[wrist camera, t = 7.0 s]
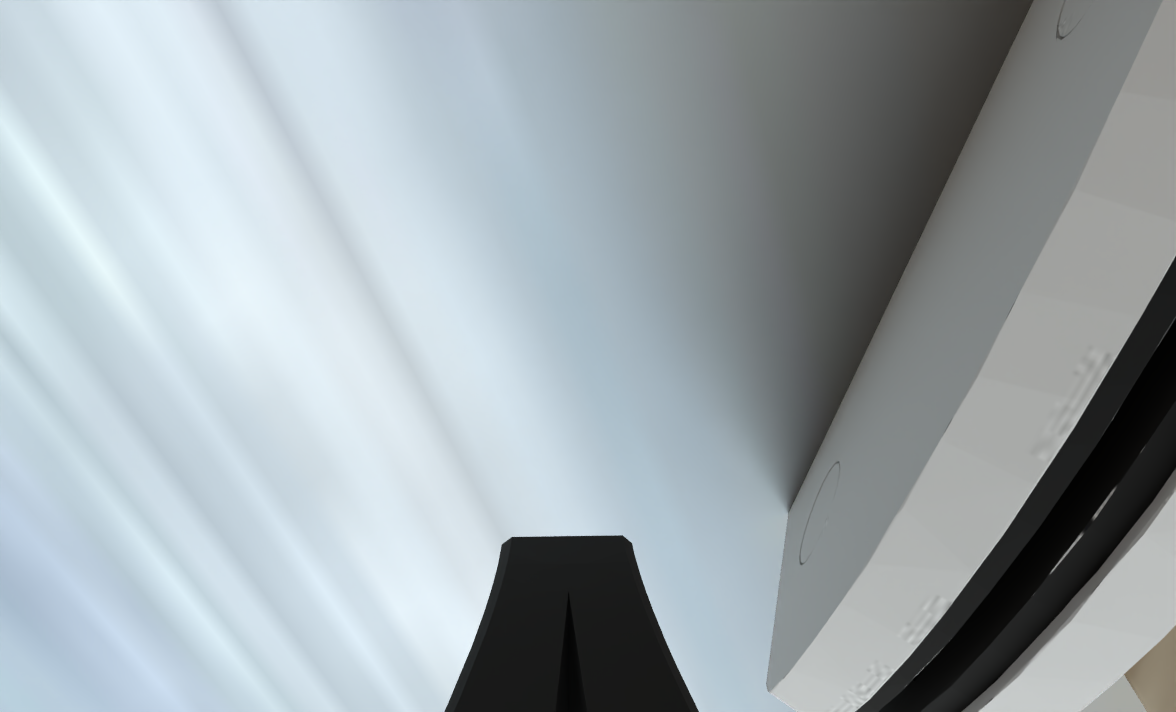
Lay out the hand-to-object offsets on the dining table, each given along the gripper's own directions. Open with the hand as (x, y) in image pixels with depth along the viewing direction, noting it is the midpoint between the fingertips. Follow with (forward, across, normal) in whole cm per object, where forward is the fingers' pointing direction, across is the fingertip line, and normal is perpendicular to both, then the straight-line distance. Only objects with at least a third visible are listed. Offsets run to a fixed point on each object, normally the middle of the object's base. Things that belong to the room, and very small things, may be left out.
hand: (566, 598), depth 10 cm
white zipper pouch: (+10, -8, 0) cm, 13 cm away
